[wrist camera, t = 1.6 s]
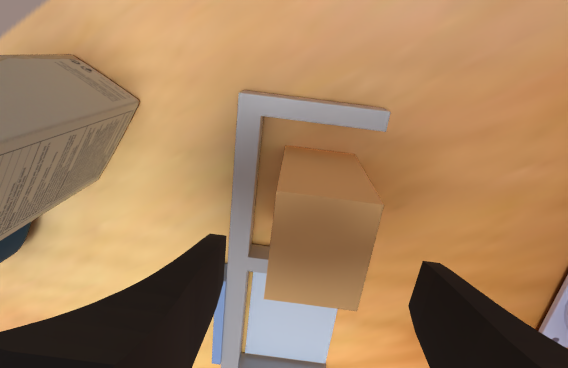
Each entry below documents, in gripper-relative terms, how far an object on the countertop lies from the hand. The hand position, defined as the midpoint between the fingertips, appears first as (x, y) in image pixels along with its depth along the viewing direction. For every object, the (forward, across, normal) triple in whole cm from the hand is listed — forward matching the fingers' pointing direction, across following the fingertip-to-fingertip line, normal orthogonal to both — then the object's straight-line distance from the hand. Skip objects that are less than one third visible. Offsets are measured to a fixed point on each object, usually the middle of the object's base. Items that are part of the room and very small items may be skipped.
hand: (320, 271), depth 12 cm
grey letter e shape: (+8, 0, +5) cm, 9 cm away
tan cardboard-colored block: (+8, 0, 0) cm, 8 cm away
